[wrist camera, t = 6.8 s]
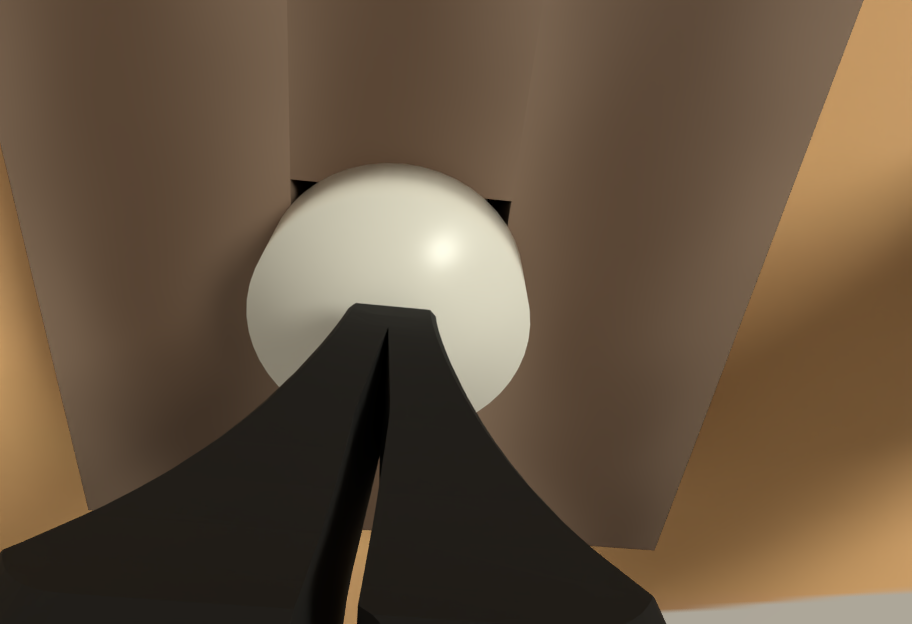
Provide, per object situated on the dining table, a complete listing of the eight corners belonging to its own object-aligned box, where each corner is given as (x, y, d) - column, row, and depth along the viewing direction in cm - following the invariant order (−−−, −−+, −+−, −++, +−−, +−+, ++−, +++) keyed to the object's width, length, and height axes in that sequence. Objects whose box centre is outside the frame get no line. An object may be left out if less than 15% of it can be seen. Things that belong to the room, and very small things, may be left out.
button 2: (529, 131, 15) (553, 211, 11) (497, 328, 17) (508, 444, 14) (291, 106, 15) (238, 180, 11) (294, 310, 17) (252, 423, 14)
